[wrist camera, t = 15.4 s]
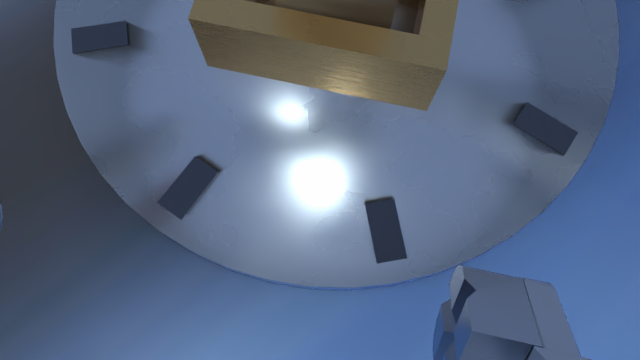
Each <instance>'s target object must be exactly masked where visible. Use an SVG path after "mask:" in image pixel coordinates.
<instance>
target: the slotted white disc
mask: <svg viewBox="0 0 640 360" xmlns="http://www.w3.org/2000/svg"><path fill="white" fill-rule="evenodd" d="M54 53H55V62H56V71H57V79H58V82H59V86H60V89H61V93H62V97H63V100H64V104H65V108H66V111H67V113H68V116H69V118H70V120H71V122H72V125H73V127H74V129H75V131H76V134H77V136H78V138H79V140H80V142H81V144H82V146H83V148H84V149H85V151H86V152H87V154H88V155H89V157H90V158H91V160H92V161H93V163H94V165H95V166H96V168H97V169H98V171H99V172H100V174H101V175H102V176H103V178H104V179H105V180H106V181H107V182H108V183H109V184H110V185H111V187H112V188H113V189H114V190H115V191H116V192H117V193H118V195H119V196H120V197H121V198H122V199H123V200H124V201H125V203H126V204H128V205H129V206H130V207H131V208H132V209H133V210H135V211H136V212H137V213H138V214H139V215H140V216H142V217H143V218H144V219H145V220H146V221H148V222H149V223H150V224H151V225H152V226H153V227H155V228H156V229H157V230H159V231H160V232H162V233H163V234H165V235H166V236H168V237H170V238H171V239H173V240H174V241H176V242H178V243H179V244H181V245H182V246H184V247H185V248H187V249H189V250H190V251H192V252H193V253H195V254H196V255H198V256H200V257H202V258H205V259H207V260H209V261H211V262H213V263H216V264H218V265H220V266H222V267H224V268H227V269H229V270H231V271H233V272H236V273H240V274H243V275H246V276H250V277H253V278H256V279H260V280H263V281H266V282H270V283H274V284H281V285H287V286H293V287H299V288H306V289H317V290H359V289H368V288H377V287H386V286H393V285H397V284H401V283H405V282H409V281H413V280H417V279H421V278H425V277H429V276H432V275H434V274H437V273H439V272H442V271H444V270H447V269H449V268H452V267H454V266H457V265H459V264H462V263H464V262H467V261H469V260H471V259H473V258H475V257H477V256H479V255H480V254H482V253H484V252H486V251H487V250H489V249H491V248H492V247H494V246H496V245H498V244H499V243H501V242H503V241H505V240H506V239H508V238H510V237H511V236H513V235H514V234H515V233H516V232H518V231H519V230H520V229H522V228H523V227H524V226H525V225H527V224H528V223H529V222H531V221H532V220H533V219H534V218H536V217H537V216H538V215H539V214H541V213H542V212H543V211H544V210H545V209H546V208H547V207H548V206H549V204H550V203H551V202H552V201H553V200H554V199H555V198H556V197H557V196H558V195H559V194H560V193H561V192H562V191H563V190H564V189H565V188H566V187H567V185H568V184H569V183H570V181H571V180H572V178H573V177H574V175H575V174H576V173H577V171H578V170H579V168H580V167H581V165H582V164H583V163H584V161H585V160H586V158H587V157H588V155H589V153H590V151H591V149H592V147H593V145H594V143H595V141H596V139H597V137H598V135H599V133H600V131H601V129H602V127H603V125H604V122H605V119H606V116H607V113H608V109H609V106H610V103H611V100H612V97H613V93H614V89H615V82H616V76H617V69H618V62H619V22H618V15H617V9H616V2H615V0H397V4H396V8H395V13H394V17H393V21H392V25H391V29H387V28H382V27H377V26H372V25H367V24H362V23H357V22H352V21H346V20H341V19H336V18H331V17H326V16H321V15H316V14H311V13H306V12H301V11H296V10H291V9H286V8H281V7H276V3H275V0H57V2H56V8H55V16H54Z"/></svg>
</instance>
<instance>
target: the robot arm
mask: <svg viewBox="0 0 640 360" xmlns="http://www.w3.org/2000/svg"><path fill="white" fill-rule="evenodd" d="M2 217H3V213H2V206H1V203H0V229H1V224H2ZM449 286H450V297H451V299H449V300H448V301H446V302H445V303H443V304H442V305H441V308H440V311H439V314H438V317H437V321H436V326H435V331H434V338H433V360H591V359H587V358H583V357H581V355H580V352H579V350H578V347H577V344H576V342H575V339H574V337H573V334H572V331H571V329H570V326H569V323H568V321H567V318H566V316H565V313H564V310H563V308H562V305H561V303H560V300H559V297H558V295H557V292H556V290H555V287H554V286H553V285H551V284H550V283H547V282H542V281H537V280H531V279H526V278H521V277H519V278H518V277H513V276H508V275H503V274H499V273H494V272H489V271H484V270H479V269H475V268H470V267H465V266H460V265H458V266H457V268H456V269H455V271H454V273H453V276H452V278H451V281H450V284H449Z"/></svg>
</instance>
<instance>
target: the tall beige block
mask: <svg viewBox="0 0 640 360" xmlns="http://www.w3.org/2000/svg"><path fill="white" fill-rule="evenodd" d="M275 3H276V7H281V8H286V9H291V10H296V11H301V12H306V13H311V14H316V15H321V16H326V17H331V18H336V19H341V20H346V21H352V22H357V23H362V24H367V25H372V26H377V27H382V28H387V29H391V25H392V21H393V17H394V13H395V8H396V4H397V0H275Z"/></svg>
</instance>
